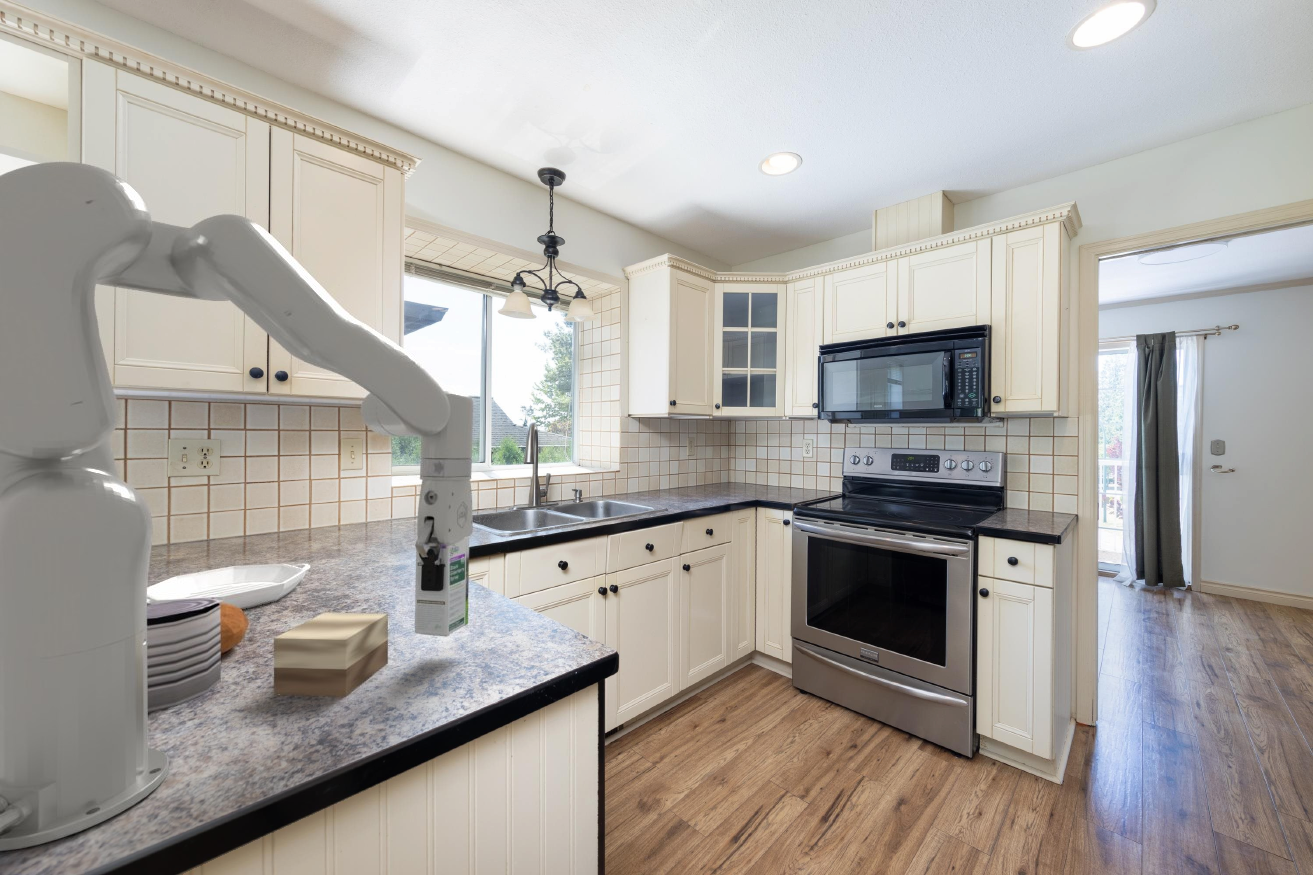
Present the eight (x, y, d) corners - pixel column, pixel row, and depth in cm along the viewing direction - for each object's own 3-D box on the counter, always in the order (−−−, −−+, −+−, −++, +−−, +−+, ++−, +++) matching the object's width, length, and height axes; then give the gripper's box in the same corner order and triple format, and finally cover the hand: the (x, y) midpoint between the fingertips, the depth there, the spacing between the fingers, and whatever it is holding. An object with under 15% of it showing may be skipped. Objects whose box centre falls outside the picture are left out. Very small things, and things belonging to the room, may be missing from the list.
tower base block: (345, 699, 69) (345, 669, 69) (273, 697, 69) (273, 667, 69) (387, 665, 79) (387, 639, 79) (324, 664, 79) (324, 638, 79)
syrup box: (447, 637, 77) (450, 540, 77) (412, 633, 78) (415, 538, 79) (468, 624, 83) (471, 534, 83) (435, 621, 84) (438, 532, 84)
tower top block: (345, 669, 69) (345, 639, 69) (273, 667, 69) (273, 638, 69) (387, 639, 79) (387, 613, 79) (324, 638, 79) (324, 612, 79)
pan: (148, 636, 89) (148, 611, 89) (106, 609, 102) (106, 588, 102) (337, 590, 116) (337, 571, 116) (283, 573, 129) (283, 556, 129)
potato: (243, 635, 89) (243, 592, 89) (254, 655, 81) (254, 608, 81) (170, 651, 83) (170, 605, 83) (174, 674, 75) (174, 623, 75)
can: (80, 721, 63) (79, 623, 63) (143, 678, 74) (142, 595, 74) (193, 707, 66) (192, 614, 66) (237, 668, 77) (237, 588, 77)
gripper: (444, 473, 72) (440, 601, 72) (489, 468, 89) (486, 571, 89) (392, 472, 72) (388, 599, 72) (447, 467, 90) (444, 570, 89)
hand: (442, 583), depth 81 cm, fingers closed on syrup box, 6 cm apart
